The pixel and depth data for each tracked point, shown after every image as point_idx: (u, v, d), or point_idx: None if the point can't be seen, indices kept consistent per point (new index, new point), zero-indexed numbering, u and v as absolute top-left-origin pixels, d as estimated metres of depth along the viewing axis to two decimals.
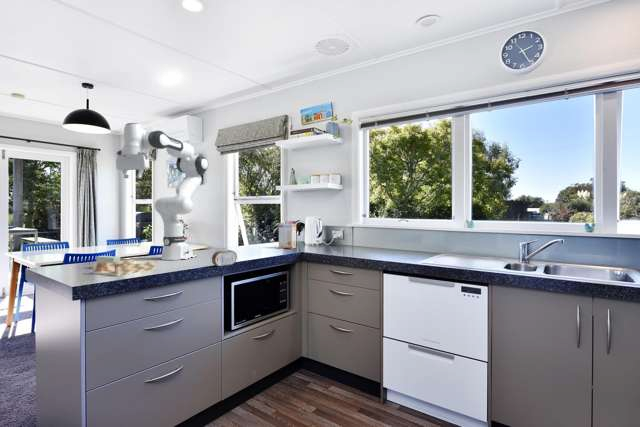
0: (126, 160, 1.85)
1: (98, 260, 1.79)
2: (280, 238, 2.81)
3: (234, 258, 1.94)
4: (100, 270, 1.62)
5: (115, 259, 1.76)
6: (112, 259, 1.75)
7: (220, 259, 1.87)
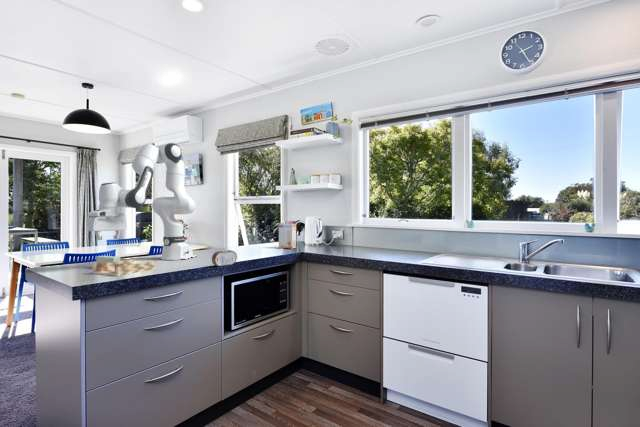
0: (105, 221, 1.76)
1: (98, 260, 1.79)
2: (280, 238, 2.81)
3: (234, 258, 1.94)
4: (100, 270, 1.62)
5: (115, 259, 1.76)
6: (112, 259, 1.75)
7: (220, 259, 1.87)
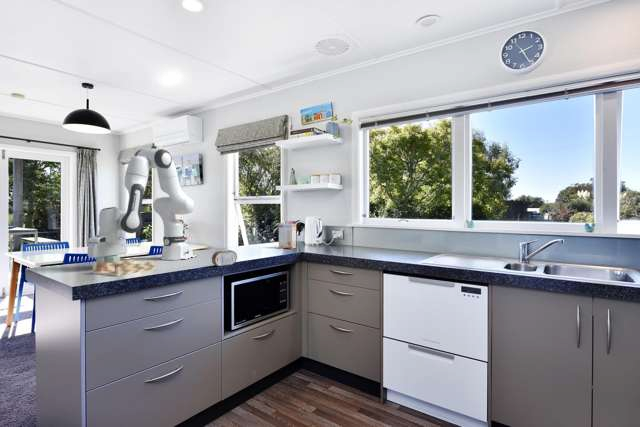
0: (105, 247, 1.76)
1: (98, 259, 1.79)
2: (280, 238, 2.81)
3: (234, 258, 1.94)
4: (100, 270, 1.62)
5: (115, 259, 1.76)
6: (112, 259, 1.75)
7: (220, 259, 1.87)
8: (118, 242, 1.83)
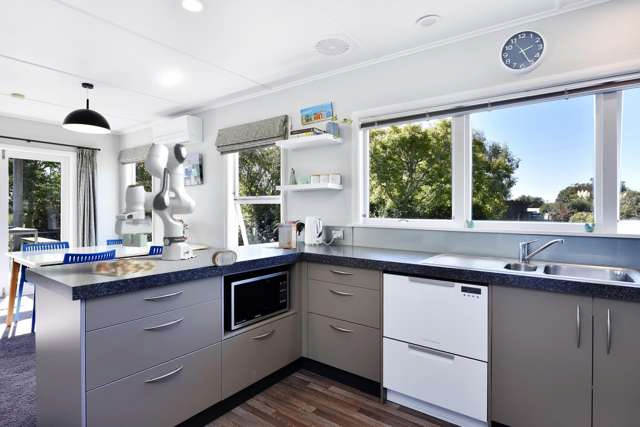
0: (132, 224, 1.72)
1: (124, 237, 1.74)
2: (280, 238, 2.81)
3: (234, 258, 1.94)
4: (100, 270, 1.62)
5: (142, 236, 1.72)
6: (139, 236, 1.71)
7: (220, 259, 1.87)
8: (144, 220, 1.78)
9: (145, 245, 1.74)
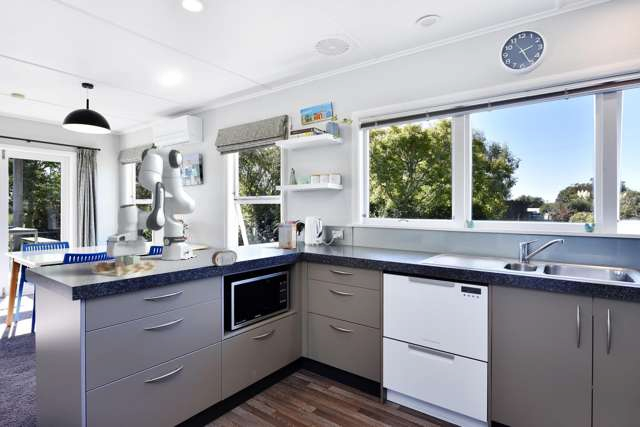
0: (124, 246, 1.68)
1: (117, 259, 1.70)
2: (280, 238, 2.81)
3: (234, 258, 1.94)
4: (100, 270, 1.62)
5: (135, 258, 1.68)
6: (132, 258, 1.67)
7: (220, 259, 1.87)
8: (137, 241, 1.74)
9: None
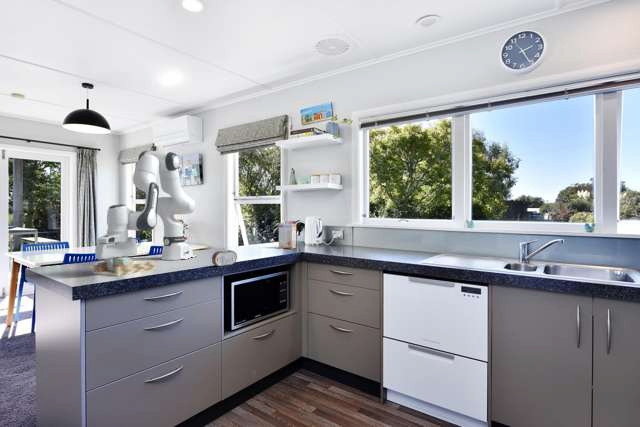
0: (114, 247, 1.62)
1: (107, 261, 1.65)
2: (280, 238, 2.81)
3: (234, 258, 1.94)
4: (100, 270, 1.62)
5: (125, 260, 1.63)
6: (122, 260, 1.62)
7: (220, 259, 1.87)
8: (128, 242, 1.69)
9: None
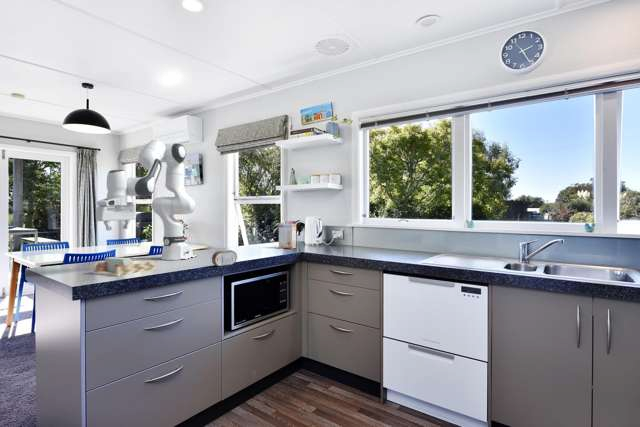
0: (114, 210, 1.68)
1: (107, 261, 1.65)
2: (280, 238, 2.81)
3: (234, 258, 1.94)
4: (100, 270, 1.62)
5: (125, 261, 1.63)
6: (122, 261, 1.62)
7: (220, 259, 1.87)
8: (127, 207, 1.75)
9: None
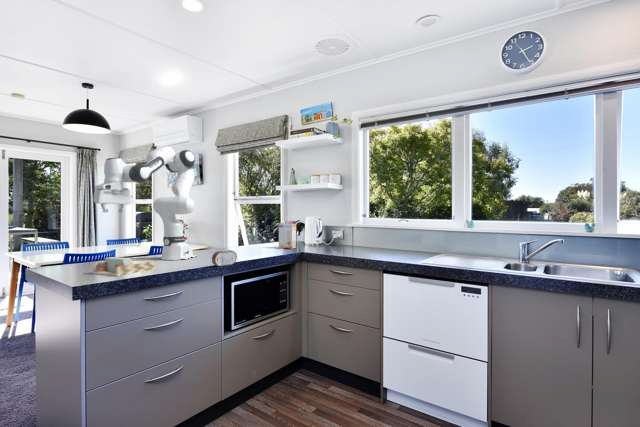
0: (110, 194, 1.83)
1: (107, 261, 1.65)
2: (280, 238, 2.81)
3: (234, 258, 1.94)
4: (100, 270, 1.62)
5: (125, 261, 1.63)
6: (122, 261, 1.62)
7: (220, 259, 1.87)
8: (123, 192, 1.90)
9: None
